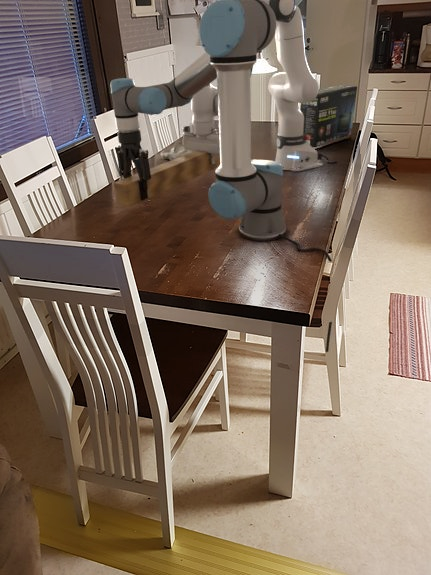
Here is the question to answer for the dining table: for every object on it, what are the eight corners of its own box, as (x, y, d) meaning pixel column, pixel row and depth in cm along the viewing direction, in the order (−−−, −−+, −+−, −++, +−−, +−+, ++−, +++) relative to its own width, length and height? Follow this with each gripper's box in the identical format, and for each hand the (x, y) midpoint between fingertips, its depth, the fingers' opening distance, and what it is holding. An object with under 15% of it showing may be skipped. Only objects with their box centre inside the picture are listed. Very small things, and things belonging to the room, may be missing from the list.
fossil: (184, 156, 217) (163, 136, 220) (174, 174, 223) (154, 154, 227) (205, 153, 231) (186, 134, 234) (195, 171, 237) (176, 152, 240)
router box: (314, 151, 231) (318, 94, 217) (296, 148, 237) (299, 92, 224) (352, 138, 251) (358, 85, 238) (335, 135, 258) (340, 83, 245)
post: (128, 207, 156) (125, 185, 152) (117, 204, 159) (113, 182, 155) (222, 165, 194) (221, 146, 190) (211, 163, 197) (210, 145, 193)
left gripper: (157, 130, 148) (164, 198, 160) (117, 125, 158) (127, 190, 170) (140, 135, 143) (149, 205, 155) (100, 129, 153) (112, 196, 165)
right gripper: (229, 128, 178) (230, 164, 185) (188, 124, 189) (191, 157, 196) (220, 132, 174) (221, 168, 181) (179, 127, 185) (181, 161, 192)
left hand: (138, 197), depth 163 cm, fingers closed on post, 6 cm apart
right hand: (205, 162), depth 189 cm, fingers closed on post, 5 cm apart
